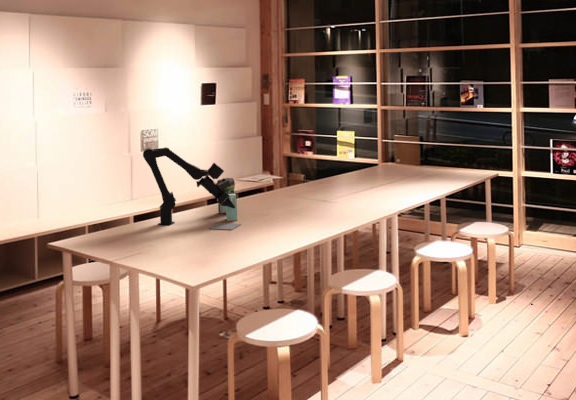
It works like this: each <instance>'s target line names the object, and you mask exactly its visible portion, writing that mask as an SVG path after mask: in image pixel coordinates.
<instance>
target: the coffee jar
mask: <svg viewBox="0 0 576 400" xmlns="http://www.w3.org/2000/svg"><path fill="white" fill-rule="evenodd" d="M221 179H222V178H221ZM221 179H217V181H216V183H218V184H219V183H220V182H222V181H221ZM224 179H226V180H227V179H229V181H230V183H231V184H232V186H230V187H227V188H225V191H226V192H227V193H228V194H235V189H236V188H235V187H236V182H235V179H234V178H233V177H225V178H224ZM225 191H224V192H225ZM217 203H218V205H217V206H218V207H217V211H218V213H219V214H222V215H223V214H225V215H226V206H225V205H221V204H220V203H219V202H218V201H217Z"/></svg>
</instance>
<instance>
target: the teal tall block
mask: <svg viewBox="0 0 576 400" xmlns="http://www.w3.org/2000/svg"><path fill="white" fill-rule="evenodd" d="M229 196H230V197H229V199H230V201H231V202H232V203H233V205H234V206H235V208H231V207H228V206H226V214H225V217H226V221H227V222H231V221H233V222H234V221H238V206H237V205H238V204H237V202H238V201H237V194H236V193H234V194H229Z"/></svg>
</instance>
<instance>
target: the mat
mask: <svg viewBox="0 0 576 400" xmlns="http://www.w3.org/2000/svg"><path fill="white" fill-rule="evenodd" d="M241 225H242V223H228V222H227V223H225V222H218V223H216V224H214V225H212V226H210V227H208V230H219V231H221V230H222V231H233V230H235V229H237V228H238V227H240V226H241Z"/></svg>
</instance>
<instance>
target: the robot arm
mask: <svg viewBox="0 0 576 400" xmlns="http://www.w3.org/2000/svg"><path fill="white" fill-rule="evenodd" d="M142 157H143V159H144V160H145V162H146V164H147V165H148V166H149V169H150V170H151V172H152V174H153V175H152V176H154V179H155V181H156V184H157V186H158V189H159V191H160V194H161V197H162V203H161V204H160V206H159V217H160V219H159V220H160V221H159V222H158V223H157V225H159V226H160V225H161V226H170V225H173V224H175V221H173V213H172V212H173V211H172V210H173V209H174V208H175V207H176V202H177V200H176V197H175V196H174V193H173V191H171V192H170V190H169V189H168V187H167V185H166V182H165V180H164V178H163V175H162V171H161V170H160V167H159V166H158V163H157V158H162V157H167V158H168V159H169V160H170V161H172V162H173V163H175V164H176V165H178V166H179V167H180V168H182V169H184V171H185V172H186V173H187V174H188V175H189V176H190V178H192V179H193V180H195V182H196V187H197V188H200V186H202V187H203V188H204V189H205V190H206V191H207V192H208V193H209V194H210V195H212V196H213V197H214V198H215V199H216V201H217V203H218V202H219V203H220V204H221V205H225V206H228V207H231V208H235V206H234V205H233V203H232V202H231V201H230V199H229V197H230V196H229V194H228V193H227V192H226V191H225V188H227V187H230V186H232V184H231V183H230V181H229V179H227V180H226V179H225V178H224V177H223V178H221V181H222V182H220V183H219V184H218V183H217V182H215V181H214V180H219V178H220V177H221V176H222V175H223V173H224V172H225V170H224V169H223V168H222V167H220V166H219V165H218V164H216V163H215V162H213V163H212V164H211V166H210V167H209V168H208V169H201V167H198V166H196V165H194V164H192V163H190V162H187V160H185V159H183V158H182V157H181V156H180V155H178V154H177V153H175V152H174V151H172V150H171V149H170V148H169V147H166V146H165V147H161V148H159V147H158V148H151V147H146V148H145V149H144V150H143V152H142ZM224 191H225V192H224Z"/></svg>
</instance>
